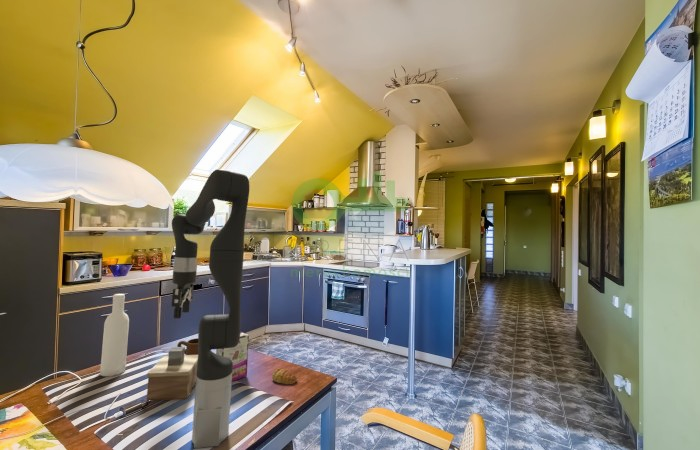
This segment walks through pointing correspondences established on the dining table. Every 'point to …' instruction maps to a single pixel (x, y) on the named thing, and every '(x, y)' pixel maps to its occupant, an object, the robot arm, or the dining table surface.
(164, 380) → the box
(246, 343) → the candy bar box
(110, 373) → the bottle
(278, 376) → the pastry
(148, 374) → the lid
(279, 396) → the dining table surface
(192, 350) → the mug
